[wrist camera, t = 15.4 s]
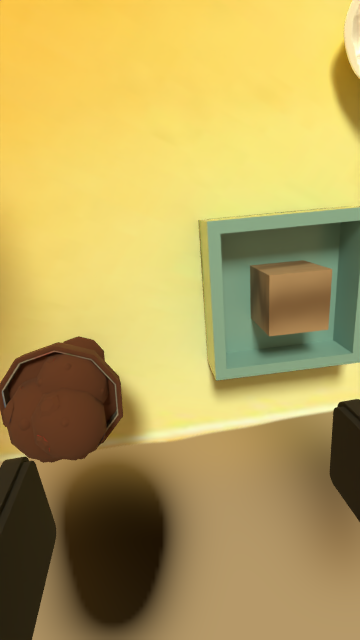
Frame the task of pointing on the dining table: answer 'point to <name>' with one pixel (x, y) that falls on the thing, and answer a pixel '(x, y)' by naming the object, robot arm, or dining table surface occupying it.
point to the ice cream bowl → (61, 400)
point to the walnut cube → (290, 297)
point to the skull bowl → (353, 36)
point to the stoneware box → (274, 247)
